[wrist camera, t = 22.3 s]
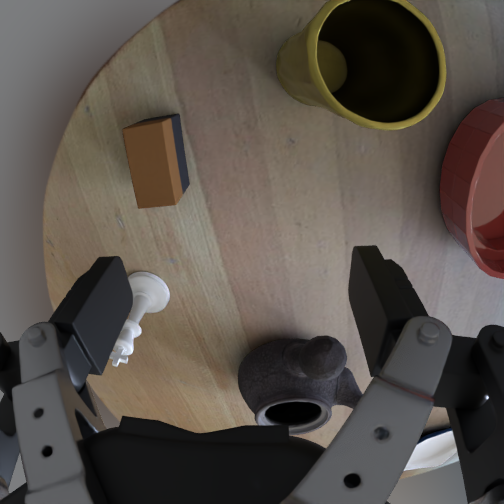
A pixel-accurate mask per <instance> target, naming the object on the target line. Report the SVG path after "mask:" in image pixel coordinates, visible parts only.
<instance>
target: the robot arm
mask: <svg viewBox="0 0 504 504" xmlns="http://www.w3.org/2000/svg"><path fill="white" fill-rule="evenodd" d="M348 291H349V301H350V305H351V308H352V311H353V315H354V318H355V321H356V325H357V328H358V331H359V335H360V338H361V342H362V346H363V349H364V353H365V356H366V360H367V364H368V368H369V371H370V375H371V377H374V378H373V379H372V381H371V382H370V384H369V386H368V387H367V389H366V390H365V392H364V394H363V395H362V397H361V399H360V400H359V402H358V403H357V405H356V406H355V408H354V409H353V411H352V413H351V414H350V416H349V417H348V419H347V420H346V422H345V423H344V425H343V426H342V427H341V429H340V430H339V432H338V433H337V435H336V436H335V437H334V439H333V440H332V442H331V443H330V444H329V446H328V447H327V449H326V448H324V447H322V446H320V445H319V444H316V443H314V442H311V441H309V440H306V439H302V438H299V437H294V436H289V425H245V426H240V427H235V428H230V429H225V430H219V431H213V432H208V433H194V432H191V431H188V430H185V429H182V428H179V427H176V426H173V425H170V424H167V423H164V422H161V421H158V420H150V419H142V418H134V417H127V416H122V419H121V422H120V425H119V427H114V428H109V429H106V427H105V425H104V423H103V421H102V419H101V415H100V413H99V410H98V407H97V405H96V402H95V399H94V396H93V393H92V390H91V387H90V385H89V383H88V381H87V380H86V378H87V376H88V374H94V375H102V373H103V371H104V369H105V366H106V364H107V362H108V359H109V357H110V355H111V352H112V350H113V348H114V345H115V343H116V341H117V339H118V337H119V334H120V332H121V330H122V328H123V326H124V323H125V321H126V319H127V317H128V315H129V313H130V311H131V308H132V305H133V293H132V289H131V286H130V283H129V280H128V277H127V274H126V271H125V268H124V265H123V262H122V260H121V258H120V257H119V256H109V257H99V258H98V259H97V260H96V261H95V263H94V264H93V265H92V267H91V268H90V270H89V271H87V272H86V273H85V274H83V275H82V276H81V277H80V278H78V279H77V281H76V282H75V283H74V285H73V286H72V288H71V290H69V292H68V293H67V295H66V298H64V299H63V300H62V302H61V303H60V305H59V306H58V308H57V309H56V311H55V312H54V314H53V315H52V317H51V318H50V320H49V321H48V322H40V323H37V324H34V325H33V326H31V327H29V328H28V329H27V330H26V331H25V332H24V333H23V335H22V336H21V338H20V340H19V341H14V342H6V340H5V338H4V337H3V336H2V334H1V333H0V390H1V391H2V392H3V393H4V396H3V398H2V400H1V402H0V504H390V503H389V502H387V499H388V497H389V496H390V494H391V492H392V491H393V489H394V487H395V485H396V484H397V482H398V480H399V478H400V476H401V475H402V473H403V471H404V469H405V467H406V465H407V463H408V461H409V459H410V457H411V455H412V453H413V451H414V449H415V447H416V445H417V443H418V441H419V438H420V436H421V434H422V432H423V429H424V427H425V425H426V423H427V420H428V418H429V415H430V413H431V410H432V408H433V406H434V407H445V408H446V410H447V413H448V417H449V420H450V424H451V428H452V432H453V435H454V439H455V443H456V447H457V452H458V456H459V460H460V465H461V470H462V474H463V479H464V484H465V490H466V496H467V501H468V504H504V327H502V326H498V325H487V326H485V327H483V328H482V329H481V330H480V332H479V334H478V336H477V338H470V337H462V336H455V335H452V333H451V331H450V329H449V328H448V327H447V326H446V325H445V324H444V323H443V322H442V321H440V320H438V319H436V318H433V317H429V315H428V314H427V312H426V310H425V308H424V306H423V304H422V302H421V300H420V299H419V297H418V295H417V293H416V291H415V290H414V288H412V284H411V282H410V281H409V280H408V277H407V275H406V274H405V272H404V270H403V269H402V267H400V266H399V265H398V264H397V263H395V262H394V261H393V260H391V259H389V260H384V258H383V256H382V254H381V253H380V251H379V249H378V247H377V246H376V245H372V246H354V248H353V251H352V260H351V269H350V278H349V288H348ZM19 453H20V454H21V459H22V464H23V469H24V473H25V477H26V481H27V482H26V483H25V484H23V485H22V486H21V487H19V488H17V489H16V490H15V491H13V492H12V493H9V491H8V488H9V485H10V481H11V478H12V475H13V471H14V468H15V465H16V462H17V459H18V456H19Z"/></svg>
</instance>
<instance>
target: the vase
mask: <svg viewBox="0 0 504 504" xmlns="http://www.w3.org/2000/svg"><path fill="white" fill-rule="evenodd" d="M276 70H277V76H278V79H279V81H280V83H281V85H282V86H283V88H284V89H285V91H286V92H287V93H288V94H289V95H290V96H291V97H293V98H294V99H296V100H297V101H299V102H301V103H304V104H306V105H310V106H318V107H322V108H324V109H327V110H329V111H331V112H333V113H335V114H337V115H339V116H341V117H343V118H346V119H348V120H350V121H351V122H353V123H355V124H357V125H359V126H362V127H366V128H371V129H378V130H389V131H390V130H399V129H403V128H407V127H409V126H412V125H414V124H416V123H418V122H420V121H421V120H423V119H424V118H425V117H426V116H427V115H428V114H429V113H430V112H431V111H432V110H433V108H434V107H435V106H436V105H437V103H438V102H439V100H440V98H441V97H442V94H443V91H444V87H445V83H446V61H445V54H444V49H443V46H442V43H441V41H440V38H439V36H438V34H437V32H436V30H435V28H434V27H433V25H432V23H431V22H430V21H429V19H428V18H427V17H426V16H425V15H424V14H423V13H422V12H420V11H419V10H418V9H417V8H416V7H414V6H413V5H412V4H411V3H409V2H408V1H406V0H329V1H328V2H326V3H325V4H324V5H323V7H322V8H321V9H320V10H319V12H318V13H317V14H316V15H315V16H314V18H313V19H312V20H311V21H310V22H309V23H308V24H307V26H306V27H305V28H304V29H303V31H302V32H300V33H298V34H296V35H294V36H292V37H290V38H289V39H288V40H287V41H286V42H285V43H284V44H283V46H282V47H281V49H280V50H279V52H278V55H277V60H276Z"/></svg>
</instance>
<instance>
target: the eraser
mask: <svg viewBox="0 0 504 504" xmlns="http://www.w3.org/2000/svg"><path fill="white" fill-rule="evenodd" d="M122 131H123V137H124V142H125V148H126V153H127V158H128V163H129V168H130V173H131V178H132V183H133V187H134V192H135V196H136V201H137V205H138V208H139V209H140V208H150V207H160V206H171V205H176V204H177V203H178V201H179V200H180V198H181V197H182V195H183V194H184V192H185V191H186V189H187V188H188V186H189V177H188V171H187V164H186V158H185V151H184V144H183V137H182V130H181V123H180V115H179V114H174V115H167V116H161V117H155V118H150V119H145V120H142V121H140V122H137V123H135V124H133V125H130V126H128V127H126V128H124V129H122Z"/></svg>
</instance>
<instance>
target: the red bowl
mask: <svg viewBox="0 0 504 504" xmlns="http://www.w3.org/2000/svg"><path fill="white" fill-rule="evenodd" d="M442 165H443V166H442V172H441V180H440V189H439V190H440V201H441V212H442V215H443V218H444V221H445V224H446V227H447V229H448V231H449V232H450V233H451V235H452V236H453V238H454V239H455V241H456V242H457V243H458V244H459V245H460V246H461V248H462V249H463V250H464V251H465V252H466V253H467V254H468V256H469V257H470V258H471V259H472V260H473V261H474V262H475V264H476V265H477V266H478V267H479V268H480V269H481V270H483V271H484V272H485V273H487V274H488V275H489V276H492V277H496V278H501V279H504V98H499V99H491V100H488V101H487V102H485V103H483V104H481V105H479V106H477V107H476V108H474V109H473V110H472V111H471V112H470V113H469V114H468V115H467V116H466V117H465V118H464V119H463V121H462V122H461V123H460V125H459V126H458V128H457V130H456V132H455V134H454V135H453V137H452V139H451V141H450V143H449V145H448V148H447V152H446V155H445V158H444V161H443V164H442Z"/></svg>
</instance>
